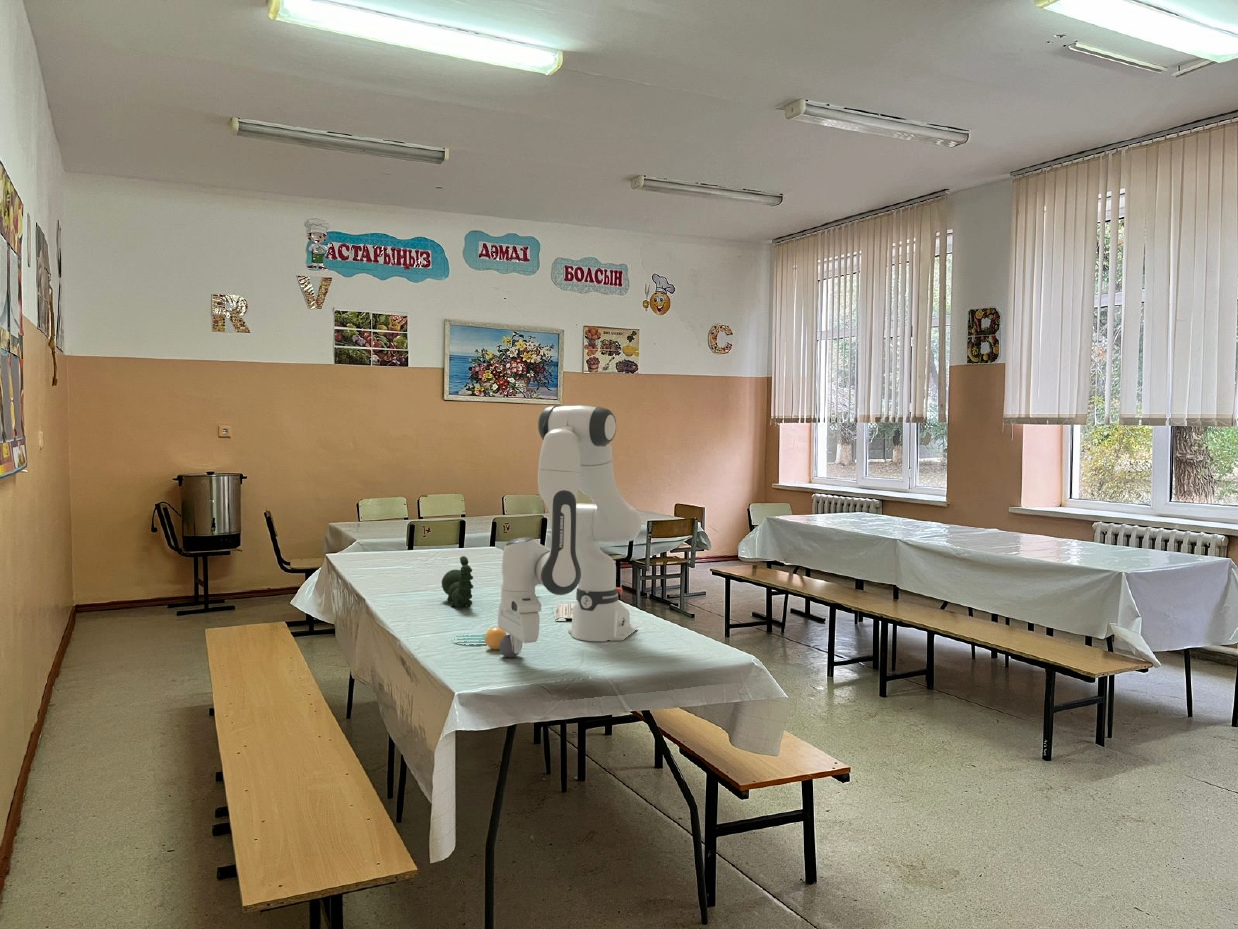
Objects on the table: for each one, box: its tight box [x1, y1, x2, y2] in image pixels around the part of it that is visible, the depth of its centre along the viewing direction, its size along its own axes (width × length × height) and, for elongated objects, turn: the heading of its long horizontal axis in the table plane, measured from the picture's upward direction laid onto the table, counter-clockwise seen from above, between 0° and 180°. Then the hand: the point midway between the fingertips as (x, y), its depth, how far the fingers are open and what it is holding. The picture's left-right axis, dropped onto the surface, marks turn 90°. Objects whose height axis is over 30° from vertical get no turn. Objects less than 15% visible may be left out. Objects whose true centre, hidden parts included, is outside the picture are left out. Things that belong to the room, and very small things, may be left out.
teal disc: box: [454, 634, 487, 647], centre depth 238 cm, size 14×14×1 cm
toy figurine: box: [441, 555, 474, 607], centre depth 286 cm, size 9×19×25 cm
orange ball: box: [485, 626, 507, 650], centre depth 229 cm, size 6×6×6 cm
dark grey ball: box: [498, 634, 523, 658], centre depth 221 cm, size 6×6×6 cm
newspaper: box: [554, 603, 574, 622], centre depth 273 cm, size 23×12×2 cm, turn 3°
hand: (516, 652), depth 218 cm, fingers closed
